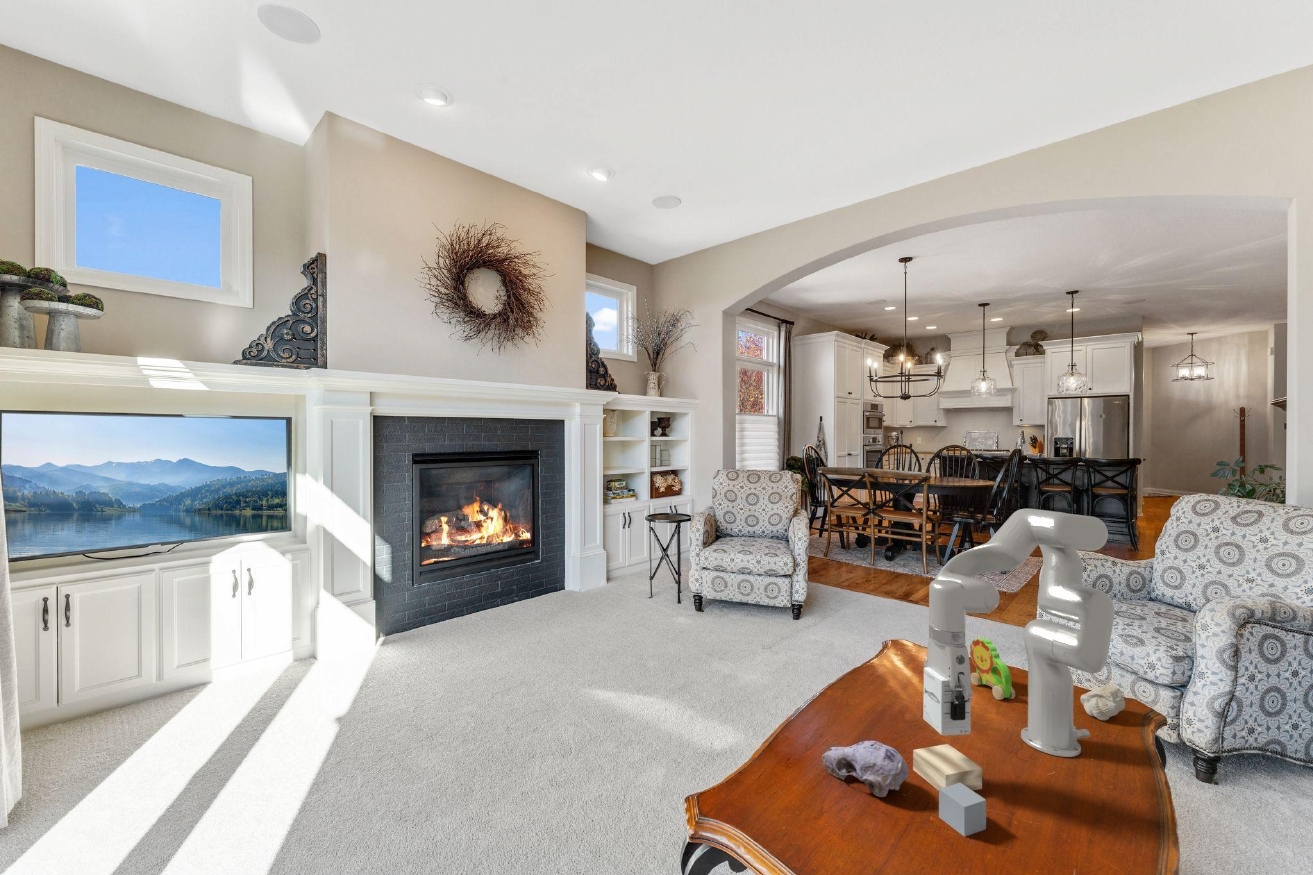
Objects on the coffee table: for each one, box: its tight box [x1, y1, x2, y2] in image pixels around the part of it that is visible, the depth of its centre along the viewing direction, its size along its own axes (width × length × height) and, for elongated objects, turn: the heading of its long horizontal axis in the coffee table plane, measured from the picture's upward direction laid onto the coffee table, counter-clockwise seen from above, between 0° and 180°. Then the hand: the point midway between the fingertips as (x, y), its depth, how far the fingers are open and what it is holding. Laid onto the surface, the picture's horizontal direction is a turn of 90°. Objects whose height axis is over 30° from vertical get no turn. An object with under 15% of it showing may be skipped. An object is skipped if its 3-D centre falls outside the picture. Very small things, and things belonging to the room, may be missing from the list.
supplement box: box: [922, 666, 972, 736], centre depth 127 cm, size 7×7×13 cm
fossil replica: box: [1079, 686, 1126, 721], centre depth 156 cm, size 12×8×10 cm
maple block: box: [912, 743, 983, 791], centre depth 127 cm, size 10×10×5 cm
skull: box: [821, 740, 909, 798], centre depth 127 cm, size 19×12×10 cm, turn 37°
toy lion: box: [969, 637, 1016, 701], centre depth 172 cm, size 16×5×15 cm, turn 6°
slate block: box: [938, 783, 987, 838], centre depth 112 cm, size 6×6×6 cm
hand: (946, 710), depth 127 cm, fingers closed on supplement box, 7 cm apart
